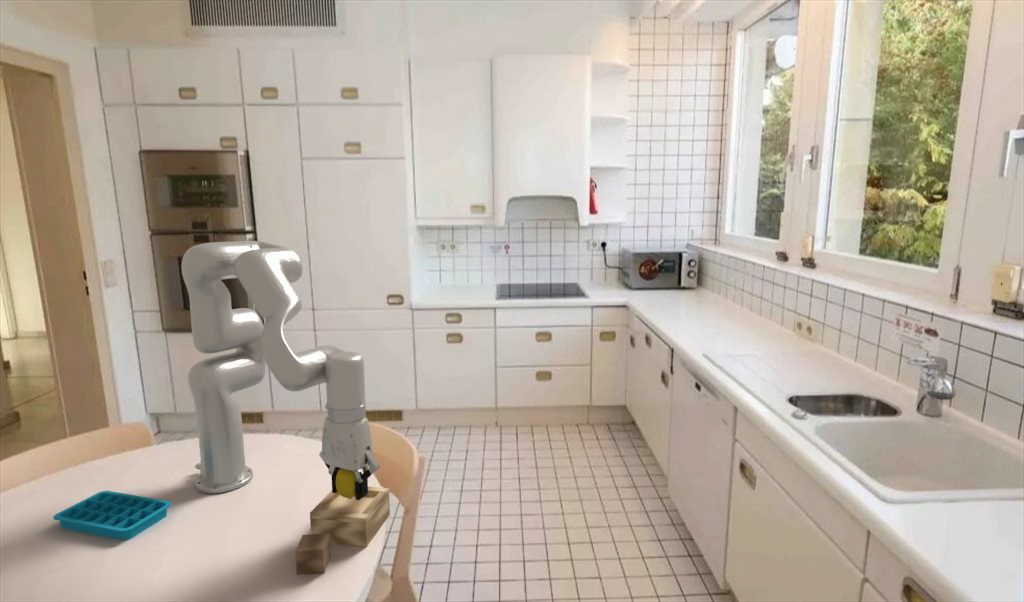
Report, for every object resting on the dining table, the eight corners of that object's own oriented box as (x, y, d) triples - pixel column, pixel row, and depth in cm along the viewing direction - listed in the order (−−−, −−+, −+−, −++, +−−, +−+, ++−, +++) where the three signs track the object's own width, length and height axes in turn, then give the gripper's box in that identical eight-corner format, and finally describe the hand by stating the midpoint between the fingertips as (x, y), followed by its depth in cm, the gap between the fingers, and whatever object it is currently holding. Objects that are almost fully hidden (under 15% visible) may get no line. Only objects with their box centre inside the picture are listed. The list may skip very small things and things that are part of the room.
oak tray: (311, 540, 110) (309, 512, 109) (339, 509, 122) (338, 483, 121) (366, 546, 108) (365, 518, 107) (389, 514, 120) (389, 488, 119)
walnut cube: (296, 575, 100) (295, 550, 99) (304, 558, 105) (302, 534, 104) (324, 573, 100) (323, 549, 100) (330, 556, 105) (329, 533, 105)
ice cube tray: (104, 502, 125) (103, 490, 124) (176, 514, 120) (174, 502, 120) (51, 530, 114) (49, 517, 113) (127, 545, 109) (126, 531, 108)
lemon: (356, 507, 111) (354, 470, 110) (331, 504, 112) (329, 468, 111) (368, 493, 116) (366, 458, 115) (344, 490, 117) (343, 456, 116)
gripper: (301, 411, 111) (306, 492, 114) (368, 426, 104) (371, 512, 107) (327, 400, 118) (331, 477, 121) (392, 413, 111) (394, 494, 114)
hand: (350, 492), depth 114 cm, fingers closed on lemon, 5 cm apart
